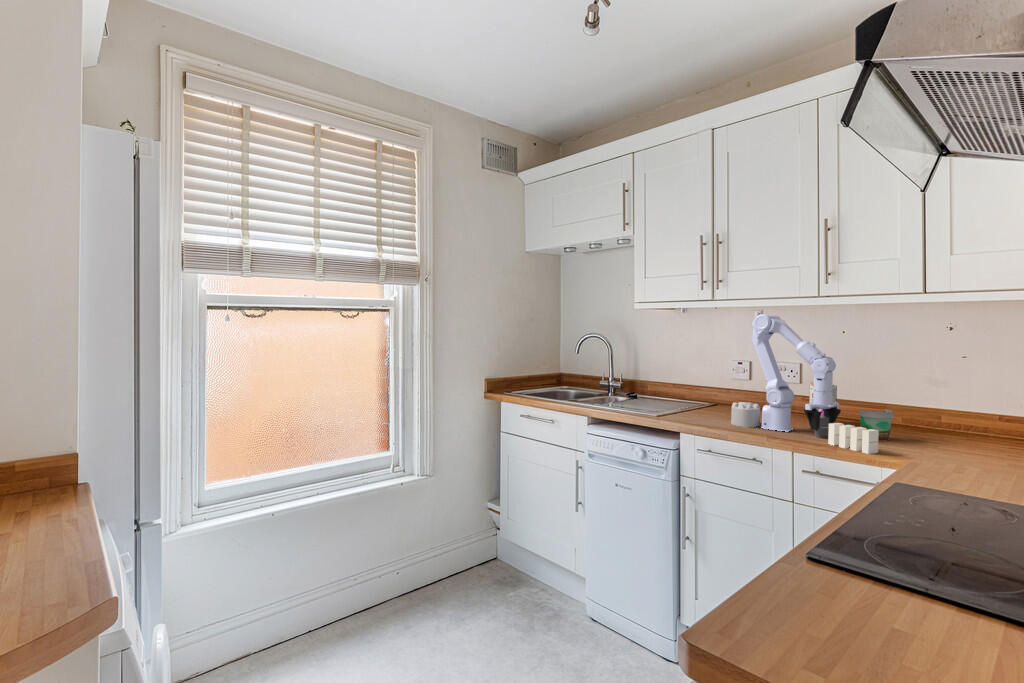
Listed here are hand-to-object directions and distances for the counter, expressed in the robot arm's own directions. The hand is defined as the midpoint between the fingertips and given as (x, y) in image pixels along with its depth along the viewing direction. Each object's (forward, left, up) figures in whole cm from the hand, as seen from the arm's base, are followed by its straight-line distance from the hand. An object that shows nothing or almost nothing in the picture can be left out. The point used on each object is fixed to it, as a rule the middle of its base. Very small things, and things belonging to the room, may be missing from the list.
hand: (821, 429), depth 180 cm
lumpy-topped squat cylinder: (-27, +4, -3) cm, 28 cm away
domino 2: (+10, -12, -3) cm, 16 cm away
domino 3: (+13, -14, -3) cm, 19 cm away
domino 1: (+6, -11, -3) cm, 13 cm away
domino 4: (+16, -15, -3) cm, 23 cm away
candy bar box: (-7, +30, -3) cm, 30 cm away
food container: (+15, +11, -3) cm, 19 cm away
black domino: (0, 0, -3) cm, 3 cm away
